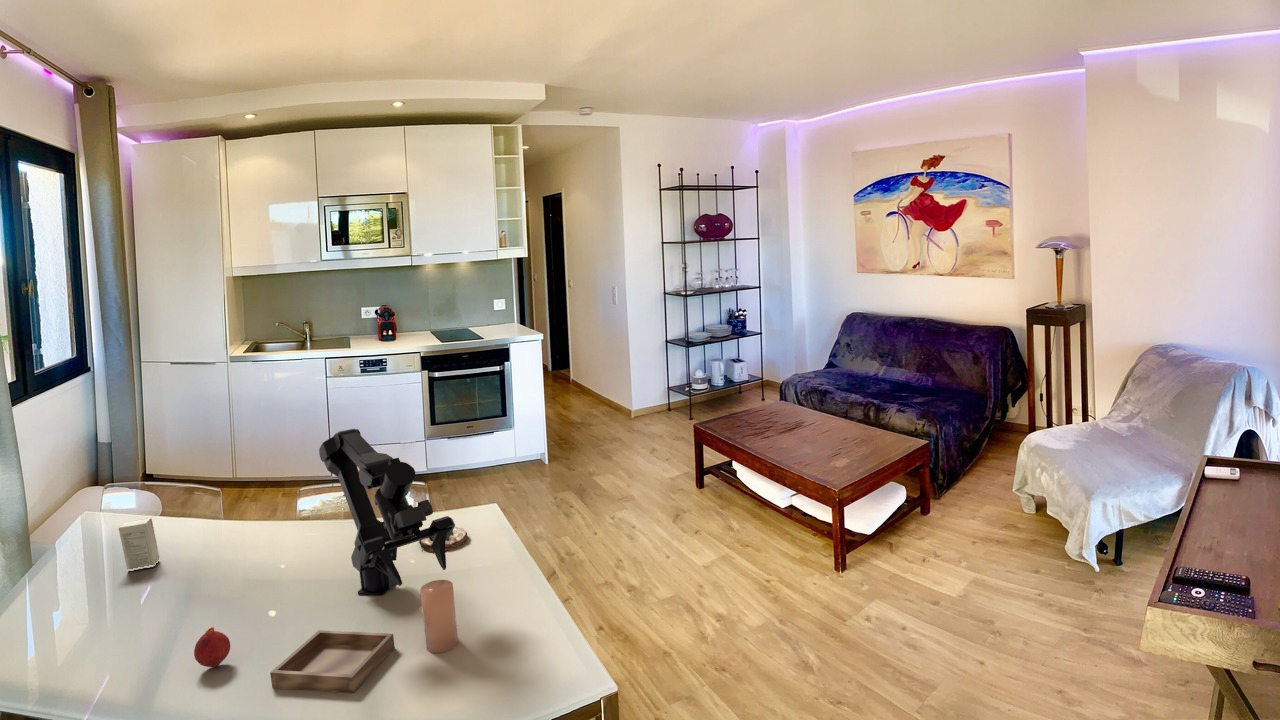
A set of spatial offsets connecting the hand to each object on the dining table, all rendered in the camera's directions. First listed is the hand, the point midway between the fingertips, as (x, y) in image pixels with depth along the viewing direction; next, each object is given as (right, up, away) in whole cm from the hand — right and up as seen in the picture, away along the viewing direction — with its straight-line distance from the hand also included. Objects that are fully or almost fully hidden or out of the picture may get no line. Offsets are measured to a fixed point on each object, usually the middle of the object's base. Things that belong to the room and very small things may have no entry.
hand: (423, 576), depth 137 cm
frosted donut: (-9, -6, +47) cm, 48 cm away
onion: (-38, -15, -6) cm, 41 cm away
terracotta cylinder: (+5, -12, -3) cm, 13 cm away
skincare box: (-85, -11, +41) cm, 95 cm away
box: (-14, -14, -8) cm, 21 cm away
